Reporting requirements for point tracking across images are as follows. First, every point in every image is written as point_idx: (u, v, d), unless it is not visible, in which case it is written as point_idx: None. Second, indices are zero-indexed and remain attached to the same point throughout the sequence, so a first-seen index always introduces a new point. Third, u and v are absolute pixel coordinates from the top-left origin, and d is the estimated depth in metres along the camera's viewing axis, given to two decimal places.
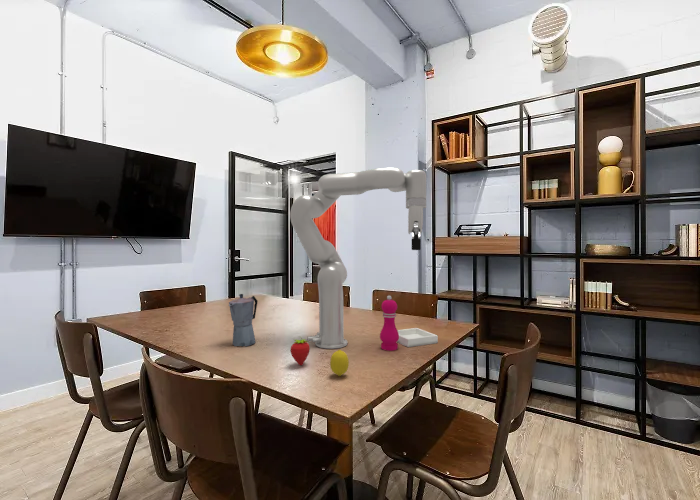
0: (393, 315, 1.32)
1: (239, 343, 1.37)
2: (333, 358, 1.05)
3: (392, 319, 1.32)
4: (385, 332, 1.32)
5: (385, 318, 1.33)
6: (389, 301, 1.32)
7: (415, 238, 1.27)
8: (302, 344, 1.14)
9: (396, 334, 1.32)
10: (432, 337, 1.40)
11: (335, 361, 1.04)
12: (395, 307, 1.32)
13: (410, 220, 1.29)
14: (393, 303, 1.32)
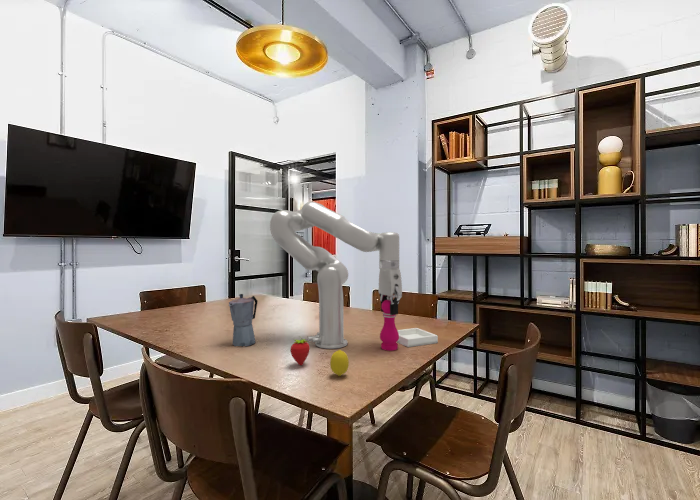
0: (393, 315, 1.32)
1: (239, 343, 1.37)
2: (333, 358, 1.05)
3: (392, 319, 1.32)
4: (385, 332, 1.32)
5: (385, 318, 1.33)
6: (389, 301, 1.32)
7: None
8: (302, 344, 1.14)
9: (396, 334, 1.32)
10: (432, 337, 1.40)
11: (335, 361, 1.04)
12: None
13: None
14: None
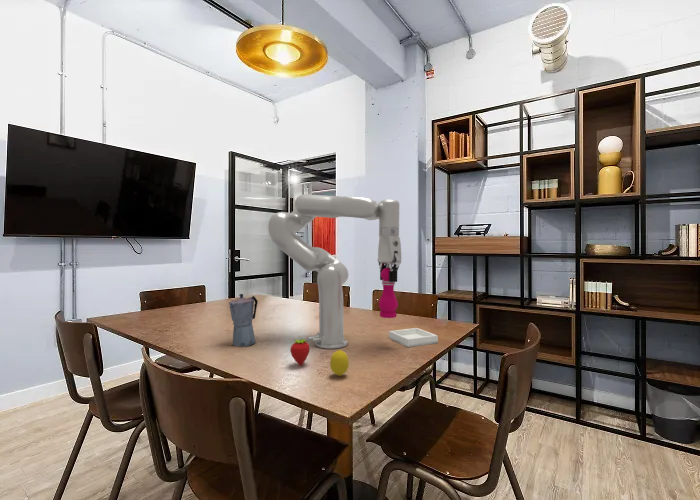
0: (392, 283, 1.32)
1: (239, 343, 1.37)
2: (333, 358, 1.05)
3: (391, 287, 1.32)
4: (384, 299, 1.32)
5: (384, 286, 1.33)
6: (388, 269, 1.32)
7: None
8: (302, 344, 1.14)
9: (395, 302, 1.32)
10: (432, 337, 1.40)
11: (335, 361, 1.04)
12: None
13: None
14: None
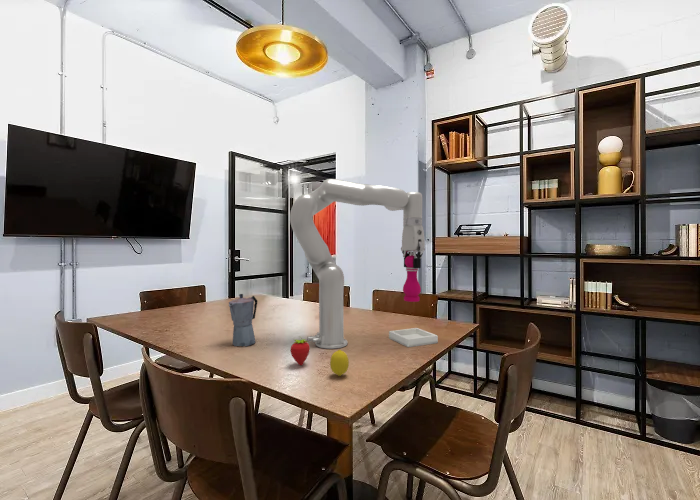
0: (416, 269, 1.42)
1: (239, 343, 1.37)
2: (333, 358, 1.05)
3: (415, 273, 1.42)
4: (408, 284, 1.42)
5: (408, 272, 1.43)
6: (412, 256, 1.42)
7: None
8: (302, 344, 1.14)
9: (418, 287, 1.42)
10: (432, 337, 1.40)
11: (335, 361, 1.04)
12: None
13: None
14: None
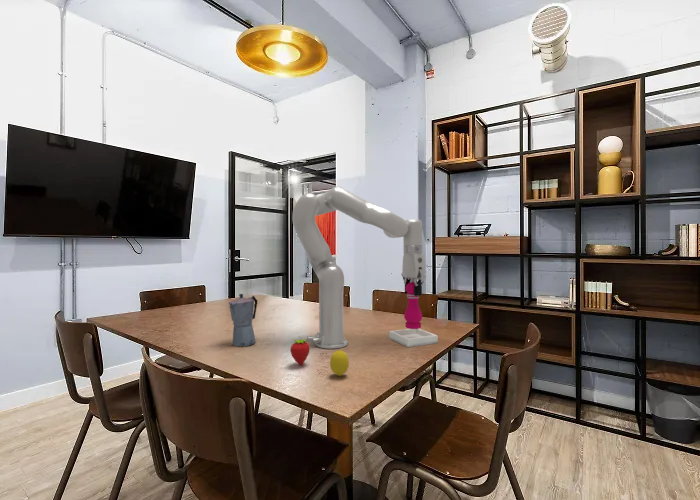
0: (417, 296, 1.42)
1: (239, 343, 1.37)
2: (333, 358, 1.05)
3: (416, 300, 1.43)
4: (410, 312, 1.42)
5: (409, 299, 1.43)
6: (413, 283, 1.43)
7: None
8: (302, 344, 1.14)
9: (420, 314, 1.42)
10: (432, 337, 1.40)
11: (335, 361, 1.04)
12: None
13: None
14: None
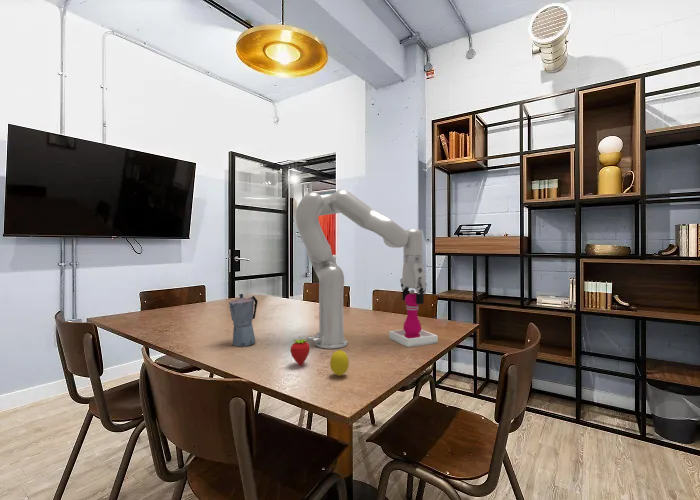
0: (416, 308, 1.42)
1: (239, 343, 1.37)
2: (333, 358, 1.05)
3: (415, 311, 1.43)
4: (409, 323, 1.42)
5: (408, 310, 1.43)
6: (412, 295, 1.43)
7: None
8: (302, 344, 1.14)
9: (419, 325, 1.42)
10: (432, 337, 1.40)
11: (335, 361, 1.04)
12: None
13: None
14: None
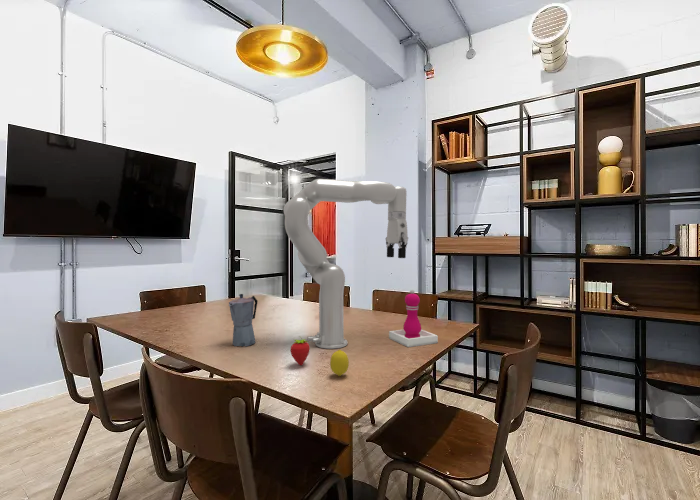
0: (416, 308, 1.42)
1: (239, 343, 1.37)
2: (333, 358, 1.05)
3: (415, 311, 1.43)
4: (409, 323, 1.42)
5: (408, 310, 1.43)
6: (412, 295, 1.43)
7: None
8: (302, 344, 1.14)
9: (419, 325, 1.42)
10: (432, 337, 1.40)
11: (335, 361, 1.04)
12: (418, 300, 1.42)
13: None
14: (416, 296, 1.42)
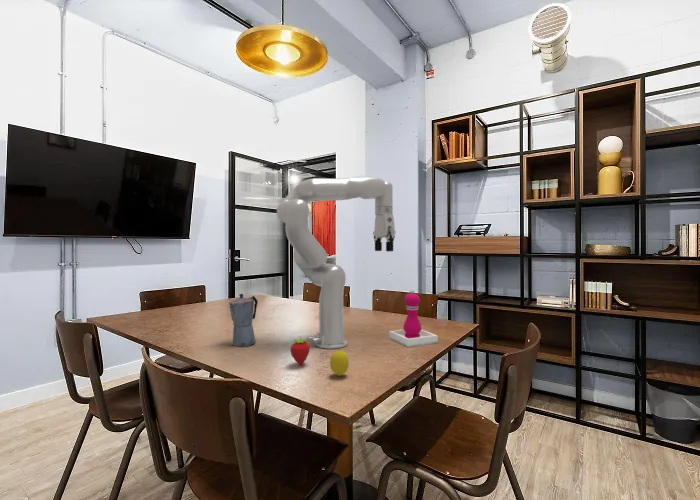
0: (416, 308, 1.42)
1: (239, 343, 1.37)
2: (333, 358, 1.05)
3: (415, 311, 1.43)
4: (409, 323, 1.42)
5: (408, 310, 1.43)
6: (412, 295, 1.43)
7: None
8: (302, 344, 1.14)
9: (419, 325, 1.42)
10: (432, 337, 1.40)
11: (335, 361, 1.04)
12: (418, 300, 1.42)
13: None
14: (416, 296, 1.42)
